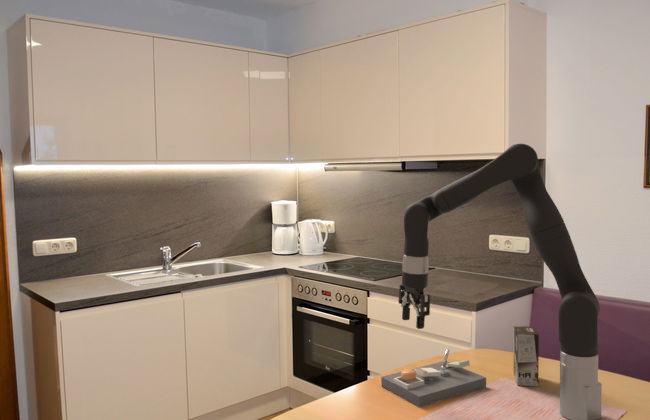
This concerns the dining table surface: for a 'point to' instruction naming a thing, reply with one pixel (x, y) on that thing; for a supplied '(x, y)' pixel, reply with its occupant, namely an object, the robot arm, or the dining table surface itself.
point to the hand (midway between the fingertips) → (412, 324)
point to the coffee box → (526, 355)
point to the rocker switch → (427, 372)
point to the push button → (408, 374)
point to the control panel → (434, 384)
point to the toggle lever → (445, 360)
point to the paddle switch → (459, 364)
